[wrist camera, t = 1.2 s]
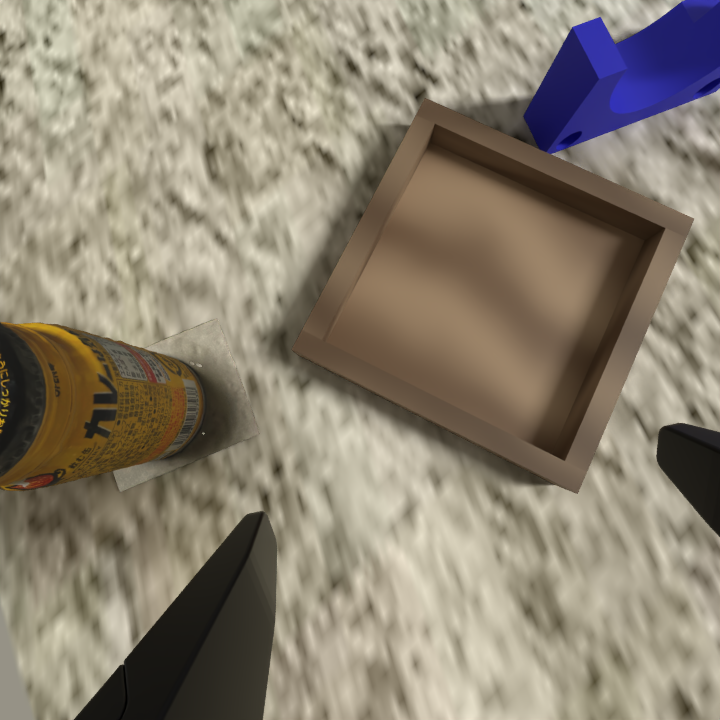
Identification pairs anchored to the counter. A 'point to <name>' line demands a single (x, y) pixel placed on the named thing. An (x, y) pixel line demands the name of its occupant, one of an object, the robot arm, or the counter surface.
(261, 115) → the counter surface
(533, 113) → the cable clip
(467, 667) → the counter surface
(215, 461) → the counter surface
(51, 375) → the condiment
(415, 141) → the dock holder
